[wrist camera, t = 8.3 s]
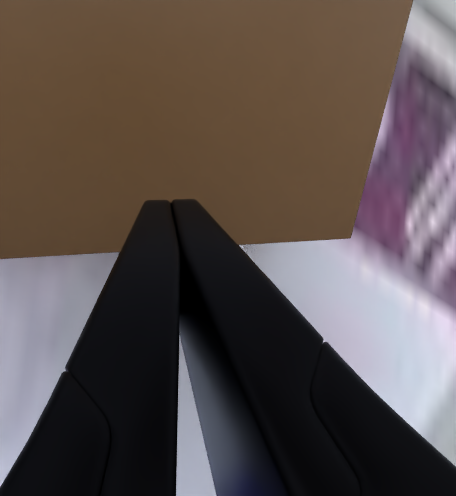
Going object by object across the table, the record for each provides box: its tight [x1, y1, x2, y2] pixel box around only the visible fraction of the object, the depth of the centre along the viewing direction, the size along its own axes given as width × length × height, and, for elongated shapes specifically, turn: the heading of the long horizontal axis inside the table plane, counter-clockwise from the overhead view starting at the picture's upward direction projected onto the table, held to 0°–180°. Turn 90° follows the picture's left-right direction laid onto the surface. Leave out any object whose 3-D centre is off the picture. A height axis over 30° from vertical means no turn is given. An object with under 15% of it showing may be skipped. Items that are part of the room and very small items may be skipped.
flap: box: [0, 0, 413, 259], centre depth 11 cm, size 7×13×1 cm, turn 92°
